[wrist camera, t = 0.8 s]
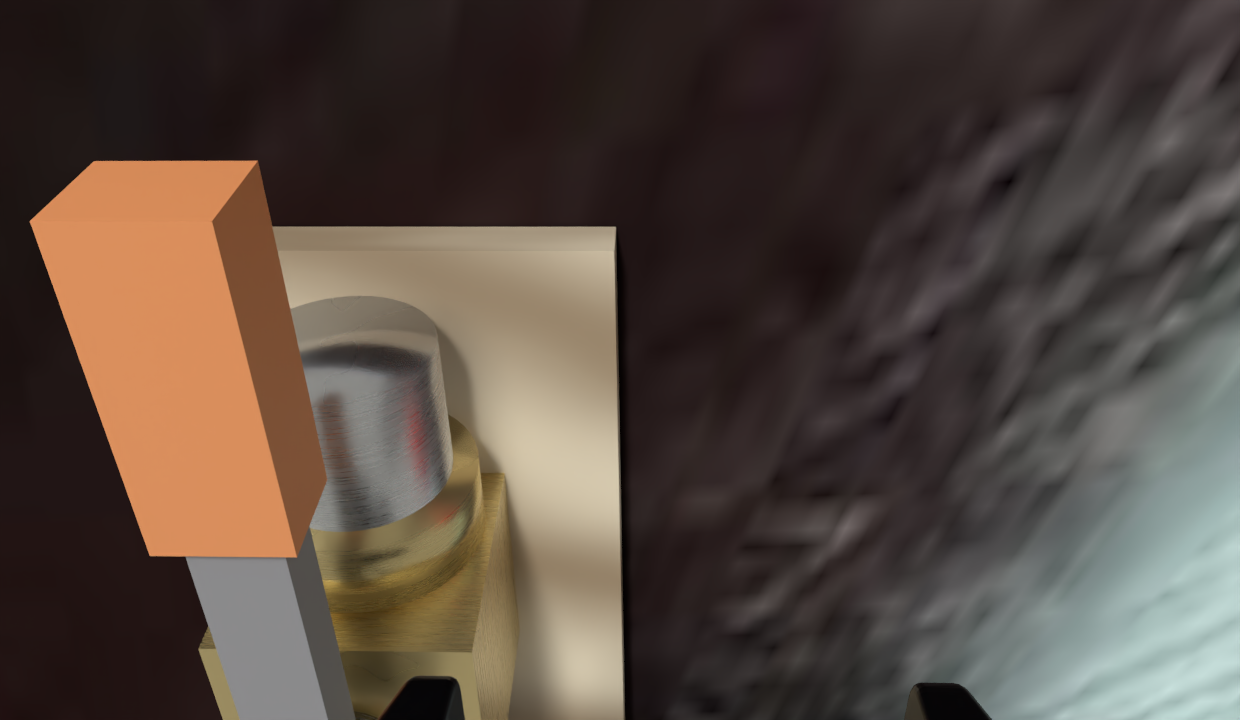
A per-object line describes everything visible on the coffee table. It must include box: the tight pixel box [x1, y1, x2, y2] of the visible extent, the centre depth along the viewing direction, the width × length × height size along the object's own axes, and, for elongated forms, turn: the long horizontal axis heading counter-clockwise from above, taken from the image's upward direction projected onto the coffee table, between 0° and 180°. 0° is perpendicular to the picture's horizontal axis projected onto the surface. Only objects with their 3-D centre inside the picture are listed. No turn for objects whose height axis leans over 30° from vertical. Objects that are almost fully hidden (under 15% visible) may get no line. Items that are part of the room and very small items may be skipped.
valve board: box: [272, 227, 625, 720], centre depth 25 cm, size 16×10×1 cm, turn 1°
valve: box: [199, 296, 520, 720], centre depth 23 cm, size 14×5×6 cm, turn 1°
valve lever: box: [30, 161, 356, 720], centre depth 16 cm, size 14×3×2 cm, turn 1°
